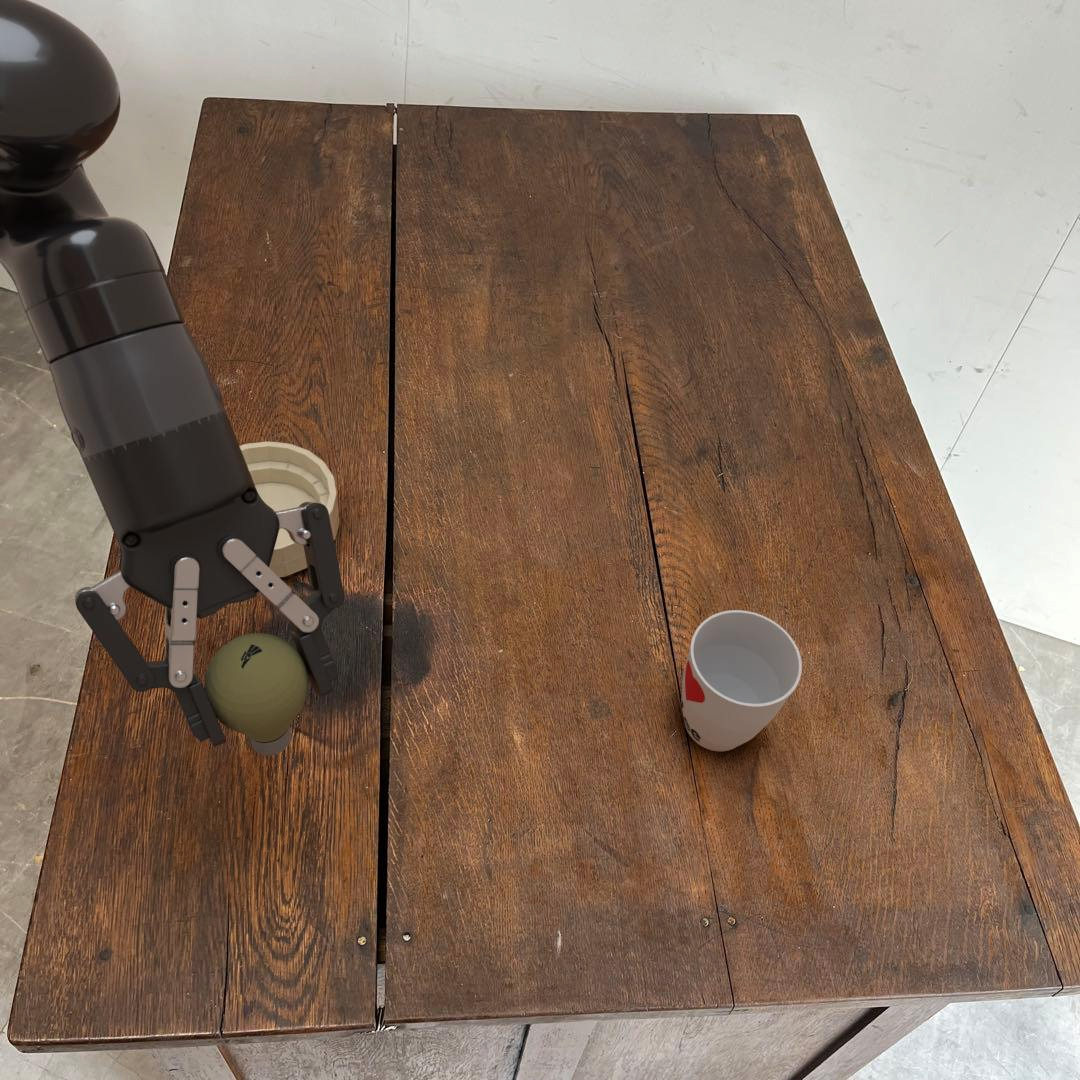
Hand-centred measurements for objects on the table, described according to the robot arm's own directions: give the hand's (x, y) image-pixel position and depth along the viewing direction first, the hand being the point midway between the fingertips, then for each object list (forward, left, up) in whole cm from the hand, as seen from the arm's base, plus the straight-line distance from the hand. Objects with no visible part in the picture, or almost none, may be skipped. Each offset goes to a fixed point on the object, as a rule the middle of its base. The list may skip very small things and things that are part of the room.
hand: (271, 715), depth 57 cm
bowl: (+9, +29, -20) cm, 36 cm away
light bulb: (0, +2, -6) cm, 7 cm away
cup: (+32, -6, -20) cm, 39 cm away
